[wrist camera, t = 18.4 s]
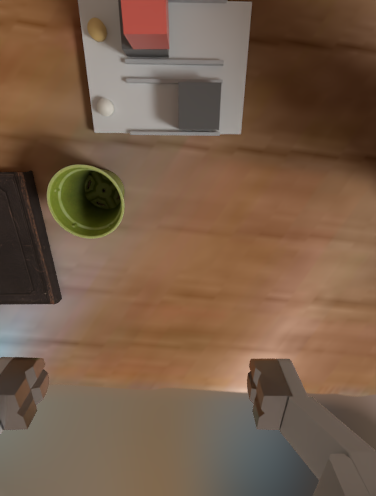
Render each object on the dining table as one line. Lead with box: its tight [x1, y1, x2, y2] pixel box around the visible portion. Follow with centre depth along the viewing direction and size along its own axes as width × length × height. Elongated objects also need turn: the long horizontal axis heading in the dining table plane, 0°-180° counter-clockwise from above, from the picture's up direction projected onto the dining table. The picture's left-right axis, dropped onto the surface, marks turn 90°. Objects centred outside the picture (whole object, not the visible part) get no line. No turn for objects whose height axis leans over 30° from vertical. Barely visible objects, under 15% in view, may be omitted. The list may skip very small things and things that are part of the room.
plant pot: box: [47, 164, 124, 239], centre depth 36 cm, size 9×9×9 cm
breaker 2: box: [178, 82, 222, 130], centre depth 33 cm, size 5×5×3 cm
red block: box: [121, 0, 169, 49], centre depth 26 cm, size 4×4×5 cm
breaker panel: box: [78, 0, 252, 136], centre depth 33 cm, size 20×14×2 cm
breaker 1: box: [118, 0, 169, 58], centre depth 29 cm, size 5×5×3 cm
